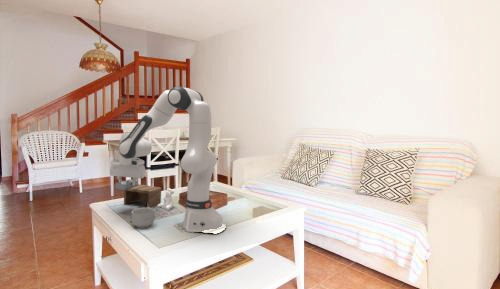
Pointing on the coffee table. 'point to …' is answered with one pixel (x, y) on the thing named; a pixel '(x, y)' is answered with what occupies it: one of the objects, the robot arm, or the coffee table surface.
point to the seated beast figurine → (167, 200)
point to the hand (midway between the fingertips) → (126, 184)
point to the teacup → (143, 217)
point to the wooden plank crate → (143, 195)
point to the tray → (125, 185)
